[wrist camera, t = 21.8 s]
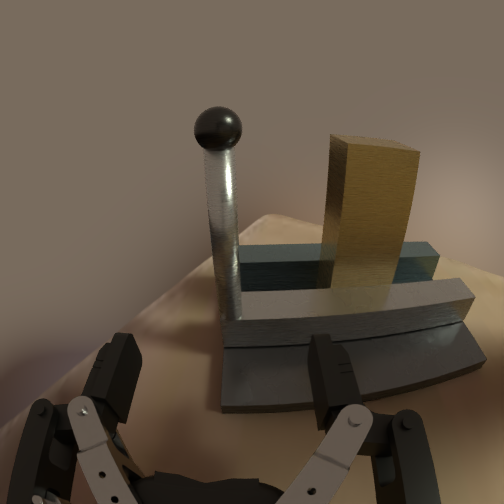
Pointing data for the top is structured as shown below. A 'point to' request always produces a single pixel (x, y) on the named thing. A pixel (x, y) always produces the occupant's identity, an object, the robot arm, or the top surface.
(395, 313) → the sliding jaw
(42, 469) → the robot arm
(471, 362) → the vise
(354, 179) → the block
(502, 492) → the top surface
